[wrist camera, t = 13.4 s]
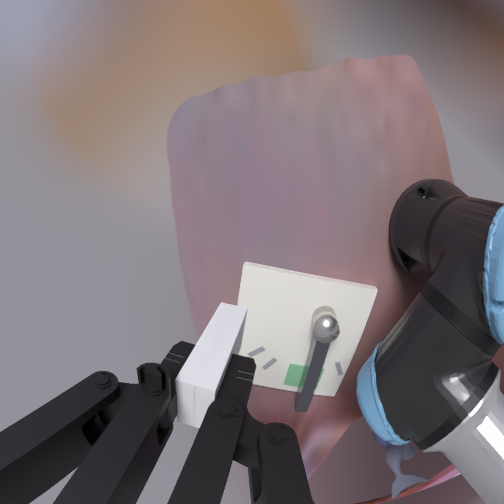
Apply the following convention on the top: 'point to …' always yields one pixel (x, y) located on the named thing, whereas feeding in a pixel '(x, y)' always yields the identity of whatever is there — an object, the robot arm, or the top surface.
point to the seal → (393, 461)
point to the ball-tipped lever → (316, 354)
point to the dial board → (299, 324)
